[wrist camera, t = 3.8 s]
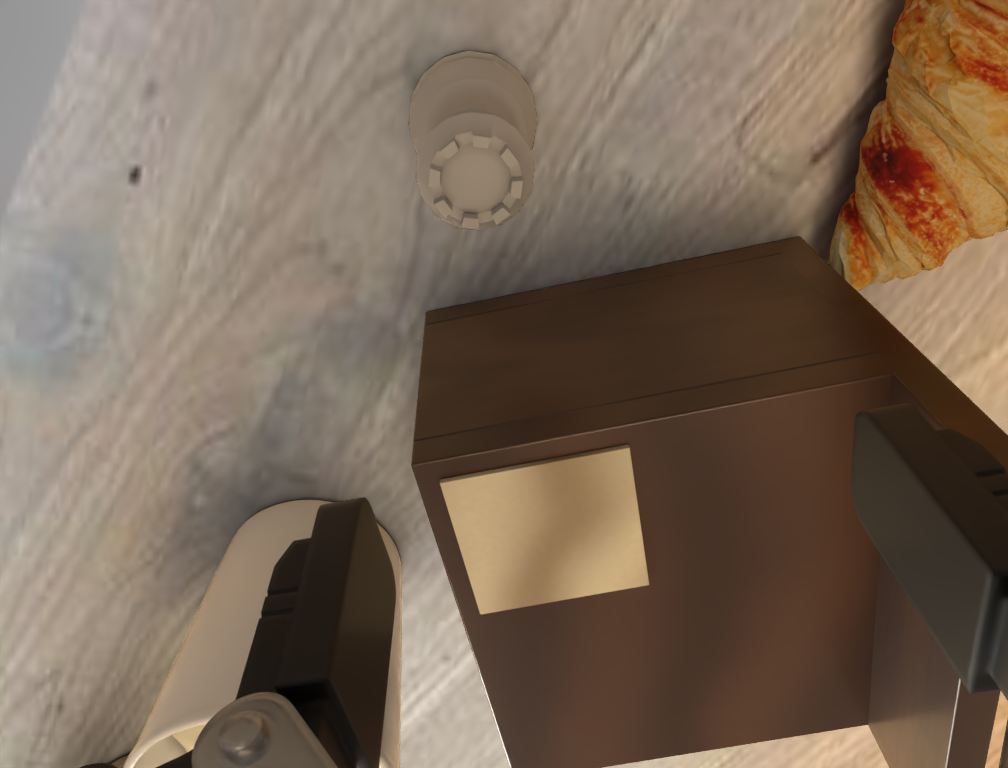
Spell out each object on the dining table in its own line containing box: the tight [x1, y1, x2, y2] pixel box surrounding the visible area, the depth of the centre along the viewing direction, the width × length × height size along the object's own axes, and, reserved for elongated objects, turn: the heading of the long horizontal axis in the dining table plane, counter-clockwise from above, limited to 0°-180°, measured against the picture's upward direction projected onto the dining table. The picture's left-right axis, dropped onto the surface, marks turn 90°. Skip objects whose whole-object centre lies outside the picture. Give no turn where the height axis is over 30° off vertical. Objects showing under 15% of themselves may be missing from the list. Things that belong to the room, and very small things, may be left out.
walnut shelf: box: [411, 237, 1008, 768], centre depth 29 cm, size 15×16×15 cm
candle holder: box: [123, 500, 402, 768], centre depth 33 cm, size 10×10×12 cm
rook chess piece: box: [409, 51, 537, 230], centre depth 24 cm, size 4×4×8 cm
